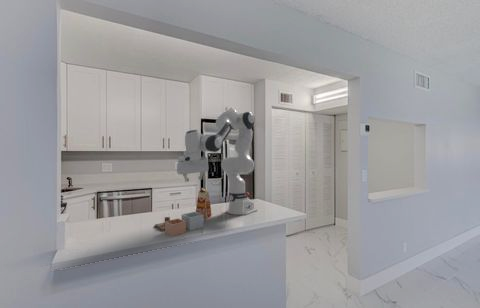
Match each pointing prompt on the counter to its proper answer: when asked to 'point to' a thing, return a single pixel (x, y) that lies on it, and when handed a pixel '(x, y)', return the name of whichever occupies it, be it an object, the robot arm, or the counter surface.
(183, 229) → the orange open box
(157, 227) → the mat
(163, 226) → the lid
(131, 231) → the counter surface
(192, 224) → the blue-grey open box
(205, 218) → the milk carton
